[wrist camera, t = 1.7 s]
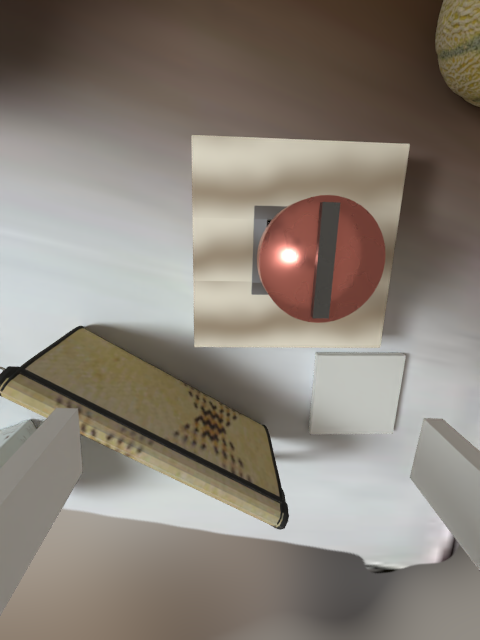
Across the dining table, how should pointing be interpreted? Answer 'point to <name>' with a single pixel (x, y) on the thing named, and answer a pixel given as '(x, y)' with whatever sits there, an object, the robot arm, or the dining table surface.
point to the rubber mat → (355, 392)
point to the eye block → (251, 221)
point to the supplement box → (14, 439)
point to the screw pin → (321, 258)
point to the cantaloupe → (460, 47)
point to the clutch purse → (153, 421)
